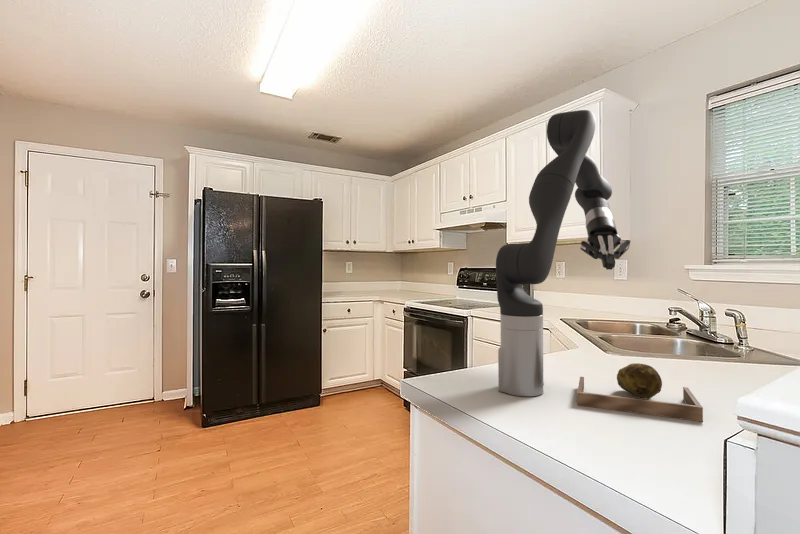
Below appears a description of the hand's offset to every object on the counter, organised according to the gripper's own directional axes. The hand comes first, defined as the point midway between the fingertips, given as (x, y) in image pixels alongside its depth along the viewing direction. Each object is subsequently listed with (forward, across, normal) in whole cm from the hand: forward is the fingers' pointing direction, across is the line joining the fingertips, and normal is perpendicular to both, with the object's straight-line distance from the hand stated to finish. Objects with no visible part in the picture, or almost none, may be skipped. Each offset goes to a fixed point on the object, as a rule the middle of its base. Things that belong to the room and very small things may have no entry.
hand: (609, 267), depth 107 cm
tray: (+37, -1, +3) cm, 37 cm away
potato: (+35, +1, +5) cm, 35 cm away
